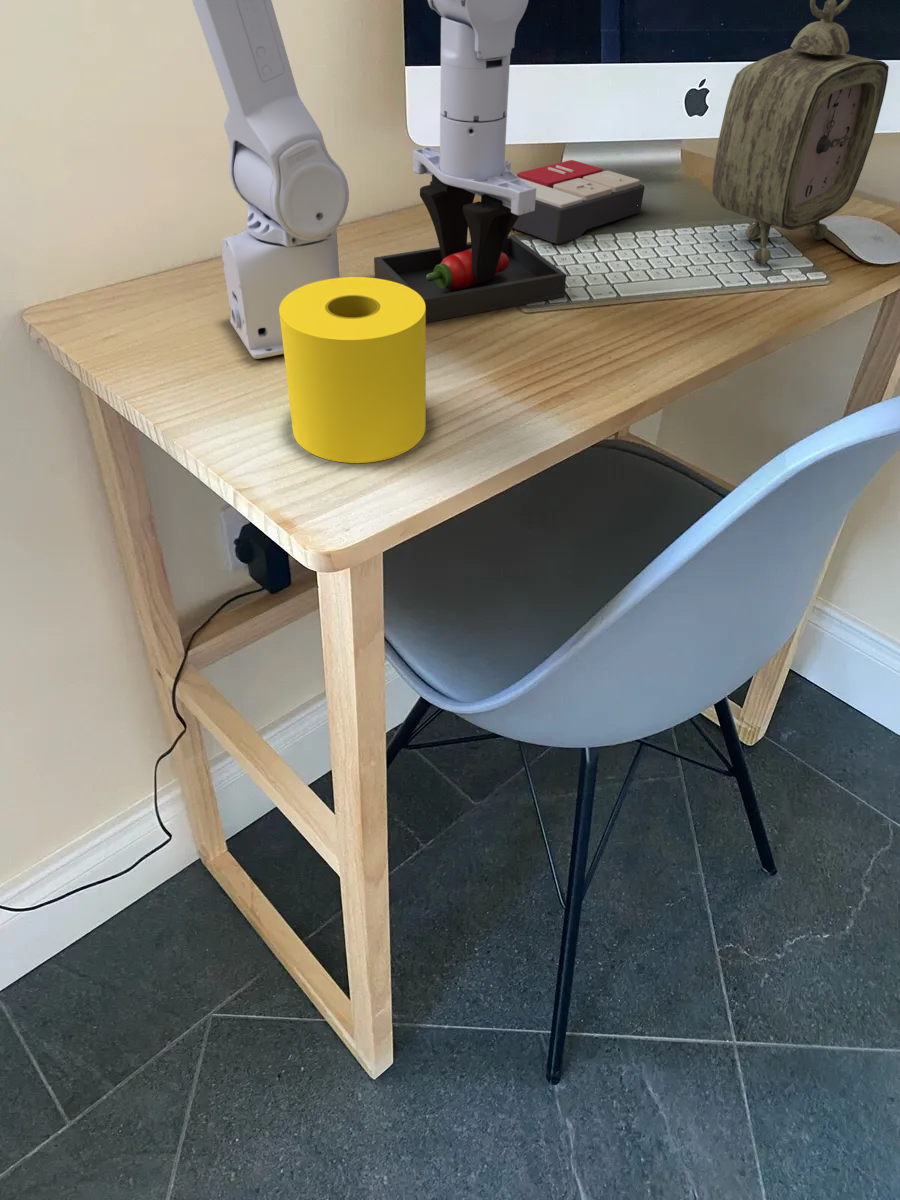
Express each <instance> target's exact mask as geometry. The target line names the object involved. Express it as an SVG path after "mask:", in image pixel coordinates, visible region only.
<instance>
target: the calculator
mask: <svg viewBox="0 0 900 1200" xmlns="http://www.w3.org/2000/svg"><path fill="white" fill-rule="evenodd" d="M516 176H518V177H519V178H520V179H521V180H523V181H524V182H525V183H527V184H529V185H531V186H533V187H535V188H536V199H535V211H532V212H529V213H526V214H522V215H520V216H519V217H518V219H517V221H516V222H515V224H514V226H513V227H512V229H513V230H516V231H519V232H522V233H525V234H527V235H530V236H533V237H536V238H538V239H541V240H544V241H547V242H550V243H552V244H555V245H561V244H563V243H567V242H570V241H573V240H576V239H579V238H580V237H581V236H582V235H583V234H584V232H586V231H587V230H590V229H594V228H597V227H599V226H602V225H606V224H610V223H613V222H615V221H619V220H621V219H624V218H628V217H631V216H634V215H638V214H639V213H641V210H642V205H643V199H644V193H645V187H646V186H645V185H644V184H641V179H638V178H635V177H631V176H628V175H625V174H621V173H618V172H615V171H612V170H604V169H603V168H601V167H598V166H593V165H591V164H587V163H584V162H581V161H578V160H574V159H569V160H565V161H561V162H557V163H553V164H548V165H544V166H541V167H537V168H533V169H528V170H525V171H520V172H517V173H516ZM637 205H638V206H637Z"/></svg>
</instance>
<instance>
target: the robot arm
mask: <svg viewBox="0 0 900 1200" xmlns="http://www.w3.org/2000/svg"><path fill="white" fill-rule="evenodd" d="M191 1H192V5H193V7H194V10H195V14H196V16H197V19H198V21H199V26H200V27H201V30H202V33H203V36H204V40H205V42H206V45H207V48H208V50H209V53H210V56H211V59H212V62H213V65H214V68H215V71H216V74H217V77H218V80H219V83H220V86H221V89H222V91H223V94H224V98H225V100H226V103H227V106H228V112H227V114H226V117H225V120H224V123H223V128H224V131H225V134H226V136H227V140H228V144H229V160H228V161H229V162H228V171H229V178H230V182H231V184H232V187H233V189H234V190H235V192H236V193H237V195H238V196H239V197H240V199H242V200H243V201H244V202H246V203H247V216H246V227H247V228H246V229H245V230H243V231H241V232H239V233H237V234H234V235H229V236H226V237H224V238H222V240H221V259H222V266H223V273H224V279H225V285H226V286H225V287H226V292H227V297H228V298H227V299H228V304H229V311H230V312H229V313H230V318H229V321H230V324H231V325H232V327H233V329H234V331H235V332H236V333H237V336H239V338H240V339H241V341H242V344H243V345H244V346H245V347H246V349H247V351H248V352H249V354H250V355H251V357H252V358H253V359H257V360H259V359H264V358H270V357H274V356H280V355H284V348H283V340H282V331H281V322H280V313H279V307H280V304H281V302H282V300H283V299H284V298H285V297H286V296H287V295H288V294H290V293H291V292H293V291H294V290H296V289H298V288H300V287H302V286H305V285H308V284H311V283H314V282H318V281H322V280H327V279H334V278H341V277H340V276H341V275H340V261H339V259H340V258H339V248H338V247H339V246H338V231H337V228H338V227H339V226H340V224H341V223H342V221H343V220H344V218H345V215H346V212H347V210H348V207H349V201H350V190H349V189H350V188H349V184H348V180H347V177H346V175H345V172H344V170H343V169H342V168H341V167H340V165H339V164H338V163H337V162H336V160H334V159H333V158H332V156H331V155H330V153H329V151H328V149H327V146H326V143H325V140H324V136H323V133H322V131H321V129H320V127H319V126H318V124H317V123H316V121H315V120H314V118H313V116H312V115H311V113H310V112H309V110H308V109H307V107H306V105H305V104H304V102H303V100H302V99H301V97H300V95H299V91H298V89H297V88H298V87H297V85H296V82H295V78H294V74H293V71H292V67H291V64H290V61H289V58H288V57H289V56H288V54H287V50H286V46H285V43H284V40H283V36H282V33H281V29H280V26H279V22H278V19H277V16H276V11H275V8H274V5H273V0H191ZM427 3H428V6H429V8H430V9H431V10H434V11H435V12H436V13H437V14H438V15H439V16H440V98H439V99H440V106H439V107H440V109H439V110H440V112H439V118H440V119H439V149H438V148H436V147H435V148H434V147H432V146H426V147H422V148H417V149H413V150H412V170H413V171H412V173H415V174H416V175H417V174H418V175H424V174H426V175H429V176H431V180H430V182H429V184H427V185H423V186H422V187H420V188H419V197H420V199H421V200H422V202H423V204H424V205H425V208H426V209H427V212H428V214H429V216H430V219H431V222H432V225H433V227H434V230H435V234H436V238H437V242H438V247H440V251H441V255H442V259H444V258H446V257H447V256H449V255H452V254H455V253H458V252H462V251H465V250H466V247H467V243H468V235H469V238H470V242H471V246H472V271H473V277H474V280H476V281H478V282H480V281H483V280H486V279H489V278H492V277H494V275H495V272H496V269H497V265H498V262H499V259H500V256H501V253H502V250H503V247H504V244H505V242H506V239H507V237H508V236H510V233H511V231H512V229H513V228H512V227H513V226H514V224H515V222H516V221H517V219H518V217H519V216H520V215H522V214H526V213H529V212H532V211H535V199H536V188H535V187H533V186H531V185H529V184H527V183H525V182H524V181H523V180H521V179H520V178H519V177H518V176H517V174H515V173H514V172H513V171H511V165H512V163H511V161H510V160H506V142H507V141H506V140H507V122H508V121H507V120H508V105H509V103H508V101H509V86H510V85H509V84H510V83H509V82H510V68H511V67H510V64H511V54H512V50H513V49H514V48H515V41H516V31H517V28H518V25H519V23H520V22H521V20H522V18H523V17H524V14H525V12H526V10H527V8H528V4H529V0H427ZM476 195H477V196H480V201H479V200H478V201H475V202H474V200H475V196H476Z"/></svg>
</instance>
